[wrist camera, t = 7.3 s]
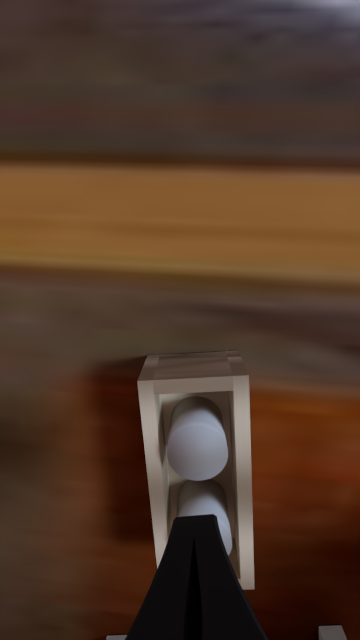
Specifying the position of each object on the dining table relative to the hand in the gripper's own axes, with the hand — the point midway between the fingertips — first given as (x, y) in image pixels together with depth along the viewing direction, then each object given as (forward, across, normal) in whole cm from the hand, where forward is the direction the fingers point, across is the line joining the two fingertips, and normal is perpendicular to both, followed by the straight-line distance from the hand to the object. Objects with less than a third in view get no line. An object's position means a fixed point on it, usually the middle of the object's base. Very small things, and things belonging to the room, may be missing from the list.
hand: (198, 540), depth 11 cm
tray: (+8, 0, +2) cm, 9 cm away
